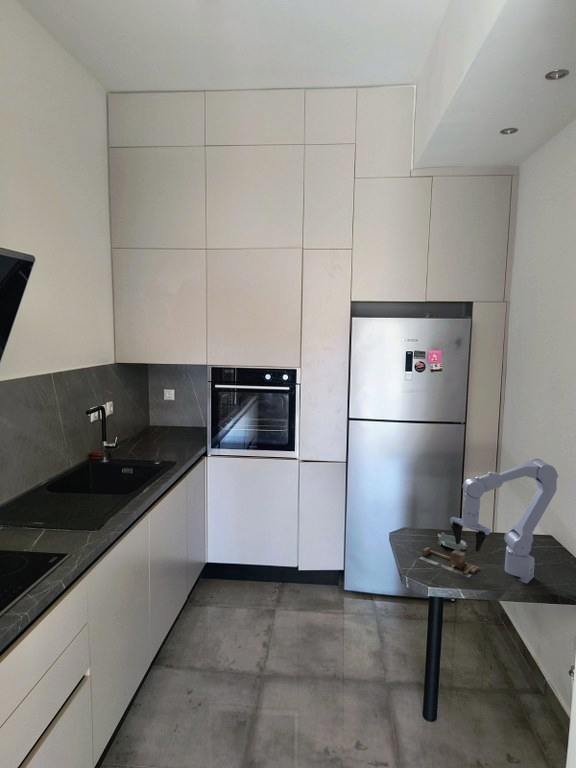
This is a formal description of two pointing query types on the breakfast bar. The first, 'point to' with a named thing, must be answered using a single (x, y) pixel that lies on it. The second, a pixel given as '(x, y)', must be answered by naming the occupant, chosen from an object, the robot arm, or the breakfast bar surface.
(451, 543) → the metal bracket
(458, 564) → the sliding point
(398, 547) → the breakfast bar surface
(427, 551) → the gauge board
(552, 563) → the breakfast bar surface
